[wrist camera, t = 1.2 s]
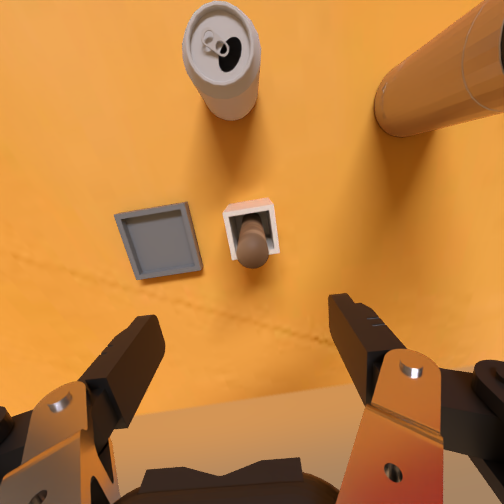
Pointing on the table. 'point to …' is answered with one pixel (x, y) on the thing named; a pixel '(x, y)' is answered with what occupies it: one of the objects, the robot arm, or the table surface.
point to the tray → (160, 240)
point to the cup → (234, 221)
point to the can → (223, 59)
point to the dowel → (252, 242)
